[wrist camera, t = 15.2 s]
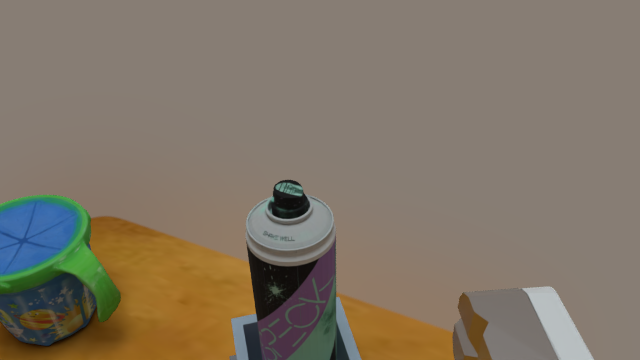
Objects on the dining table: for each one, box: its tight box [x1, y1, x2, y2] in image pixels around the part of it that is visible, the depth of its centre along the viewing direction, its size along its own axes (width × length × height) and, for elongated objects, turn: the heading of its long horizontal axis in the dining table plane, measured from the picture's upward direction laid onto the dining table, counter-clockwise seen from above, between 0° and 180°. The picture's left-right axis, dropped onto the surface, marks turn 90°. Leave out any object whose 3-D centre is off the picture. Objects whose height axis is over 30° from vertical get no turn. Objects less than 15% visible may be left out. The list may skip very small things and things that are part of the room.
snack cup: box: [0, 195, 121, 346], centre depth 48 cm, size 16×11×10 cm
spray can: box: [246, 180, 337, 360], centre depth 37 cm, size 6×6×20 cm
